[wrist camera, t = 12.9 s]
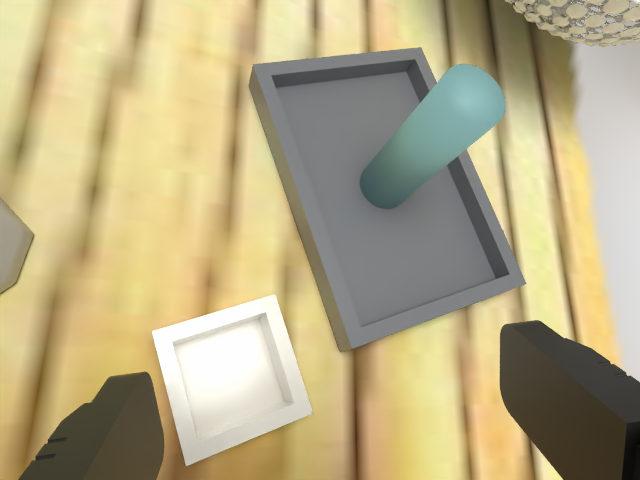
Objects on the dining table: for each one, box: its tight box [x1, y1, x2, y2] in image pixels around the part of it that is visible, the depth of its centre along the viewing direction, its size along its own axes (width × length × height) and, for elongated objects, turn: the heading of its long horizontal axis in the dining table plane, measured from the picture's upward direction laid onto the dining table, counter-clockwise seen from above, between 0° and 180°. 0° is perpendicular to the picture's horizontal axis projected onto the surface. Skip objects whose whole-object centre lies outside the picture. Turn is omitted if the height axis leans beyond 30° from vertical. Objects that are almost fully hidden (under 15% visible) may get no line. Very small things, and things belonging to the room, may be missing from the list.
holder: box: [152, 294, 313, 466], centre depth 24 cm, size 7×7×4 cm
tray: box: [249, 47, 526, 351], centre depth 31 cm, size 20×14×2 cm
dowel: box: [360, 64, 506, 209], centre depth 27 cm, size 4×4×11 cm
